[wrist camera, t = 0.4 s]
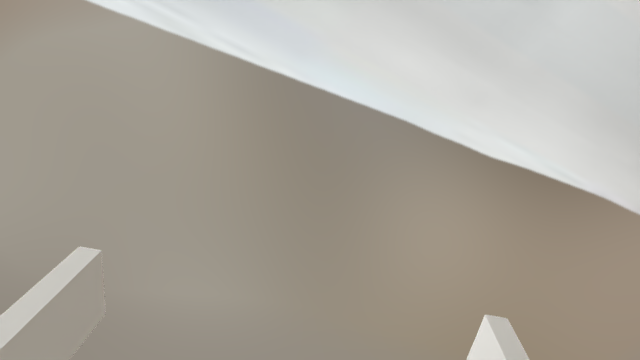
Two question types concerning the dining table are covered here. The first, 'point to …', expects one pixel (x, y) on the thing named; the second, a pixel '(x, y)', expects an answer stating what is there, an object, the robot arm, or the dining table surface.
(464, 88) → the dining table surface
